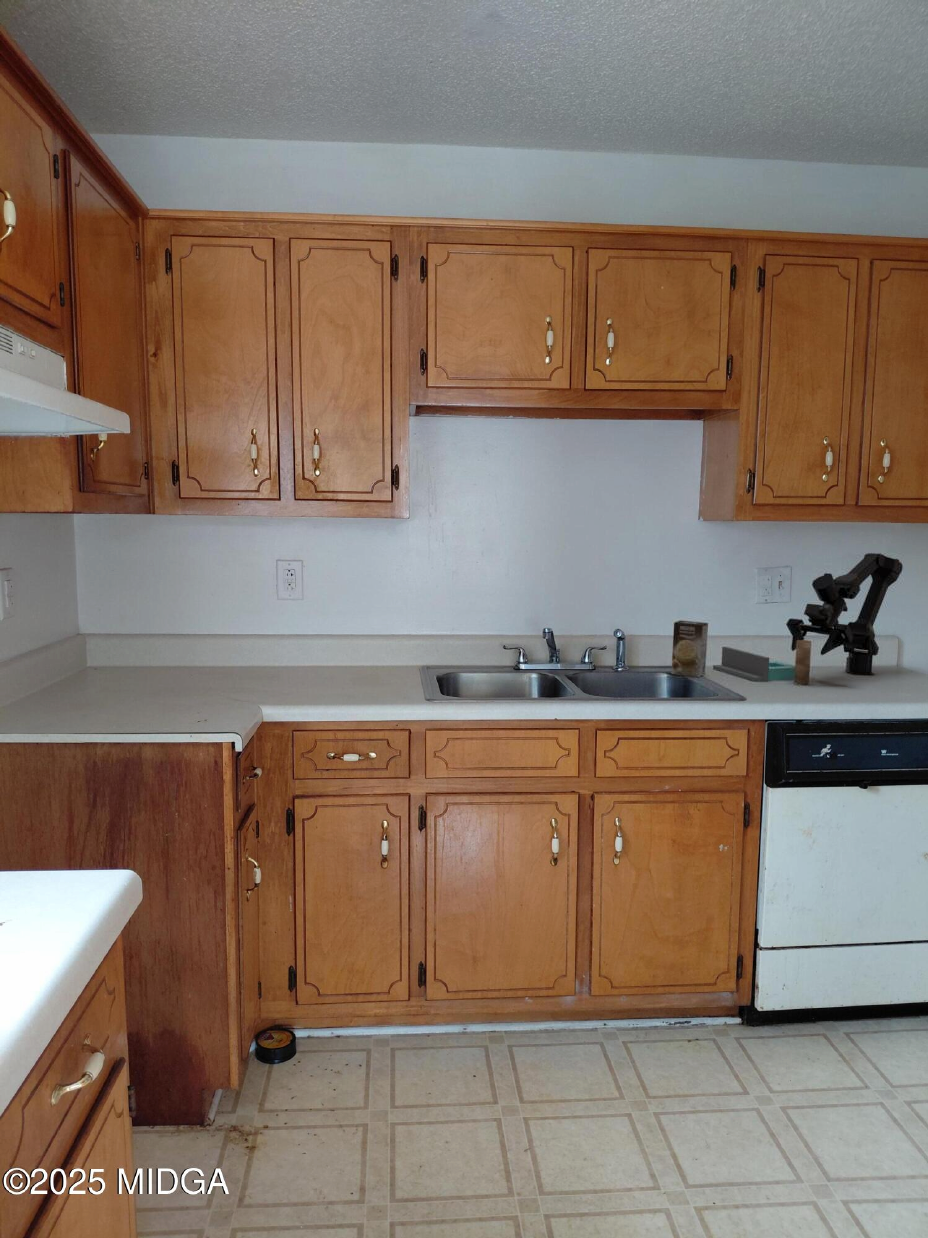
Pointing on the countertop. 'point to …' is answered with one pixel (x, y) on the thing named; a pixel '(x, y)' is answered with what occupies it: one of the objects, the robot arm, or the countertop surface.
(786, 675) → the socket block
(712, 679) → the countertop surface
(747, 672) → the backstop wall
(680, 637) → the coffee box
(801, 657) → the dowel
